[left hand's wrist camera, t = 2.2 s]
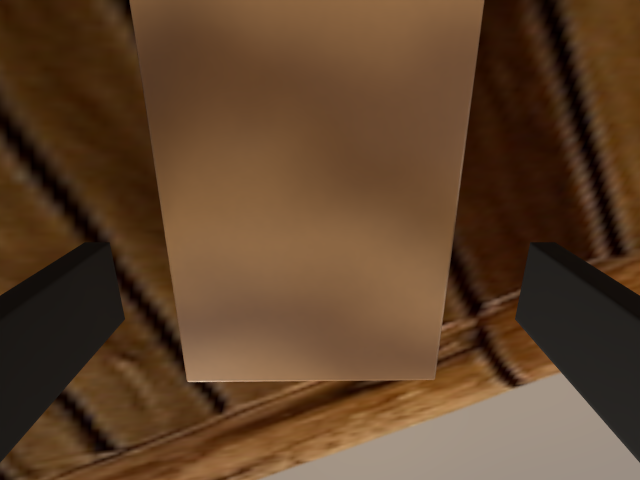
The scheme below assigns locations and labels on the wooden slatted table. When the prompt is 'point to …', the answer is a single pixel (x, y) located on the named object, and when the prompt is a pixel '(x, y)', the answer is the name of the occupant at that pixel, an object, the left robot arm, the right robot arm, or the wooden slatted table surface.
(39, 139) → the wooden slatted table surface
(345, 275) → the box
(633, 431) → the left robot arm
